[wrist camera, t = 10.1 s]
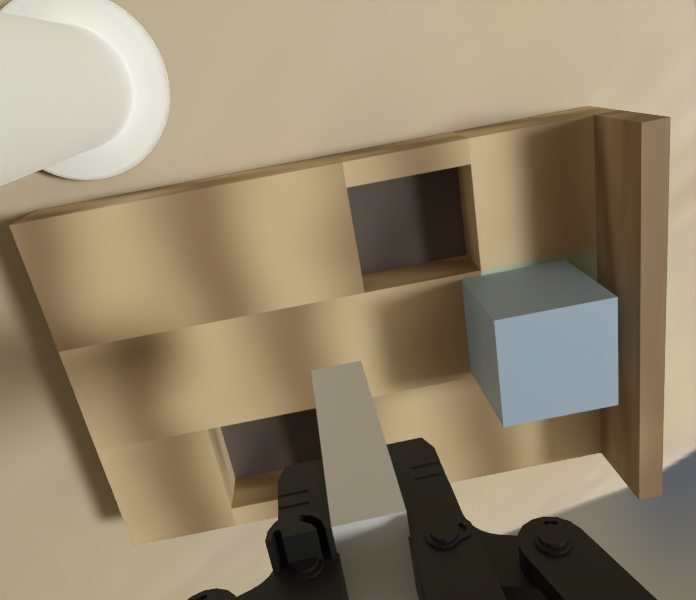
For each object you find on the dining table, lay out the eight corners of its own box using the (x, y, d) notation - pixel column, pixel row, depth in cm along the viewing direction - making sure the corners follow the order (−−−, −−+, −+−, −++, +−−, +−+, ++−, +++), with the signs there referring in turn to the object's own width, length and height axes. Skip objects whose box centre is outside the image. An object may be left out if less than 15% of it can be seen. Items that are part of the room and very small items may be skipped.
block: (471, 372, 27) (503, 427, 23) (461, 279, 26) (494, 320, 22) (568, 353, 28) (618, 405, 23) (564, 259, 26) (617, 296, 22)
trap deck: (145, 510, 32) (113, 605, 26) (34, 210, 26) (-37, 251, 20) (597, 420, 32) (661, 495, 26) (589, 106, 26) (670, 117, 21)
